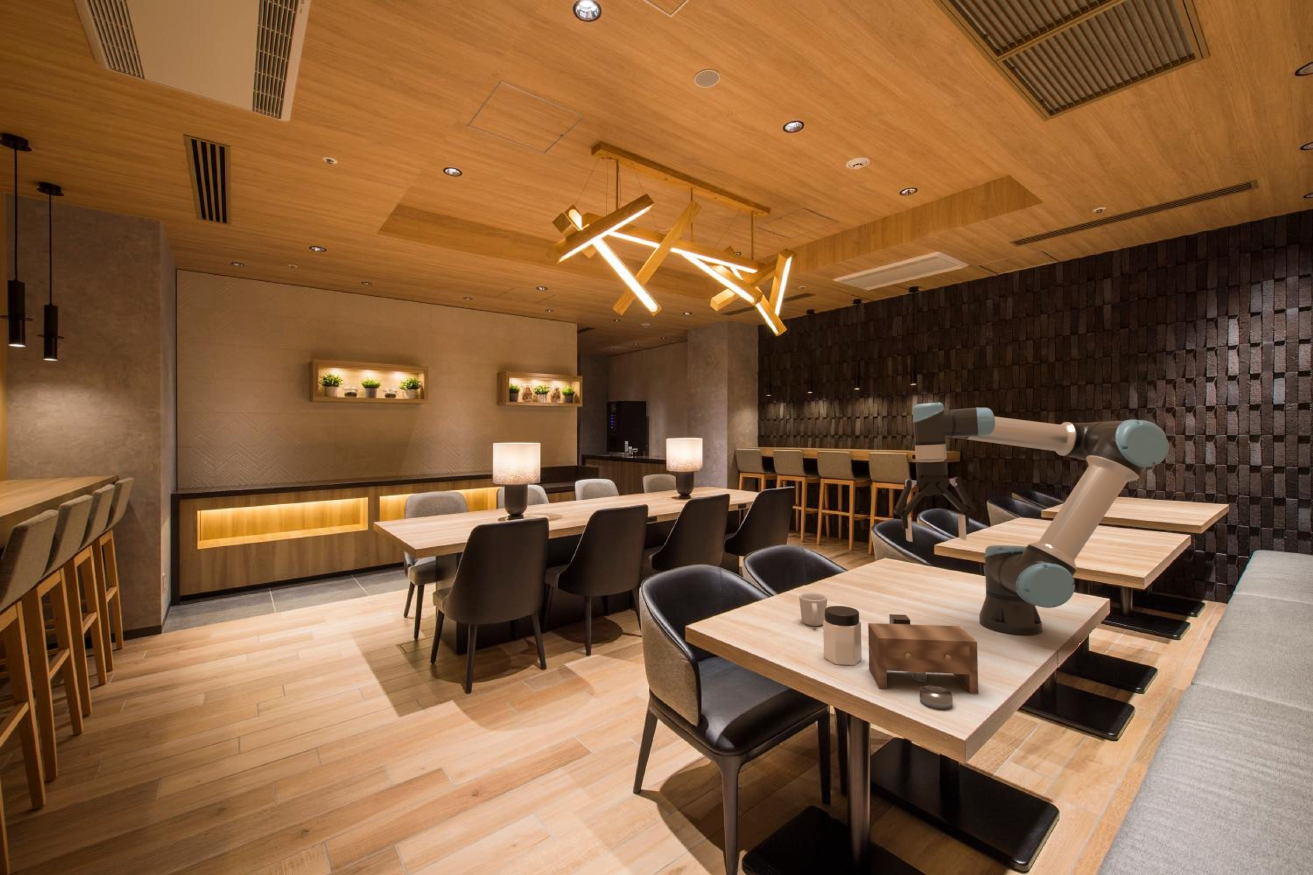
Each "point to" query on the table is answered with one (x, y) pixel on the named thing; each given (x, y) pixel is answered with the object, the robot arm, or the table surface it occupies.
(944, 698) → the disc
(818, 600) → the cup
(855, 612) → the jar
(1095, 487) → the robot arm
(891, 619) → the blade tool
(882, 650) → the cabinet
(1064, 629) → the table surface
